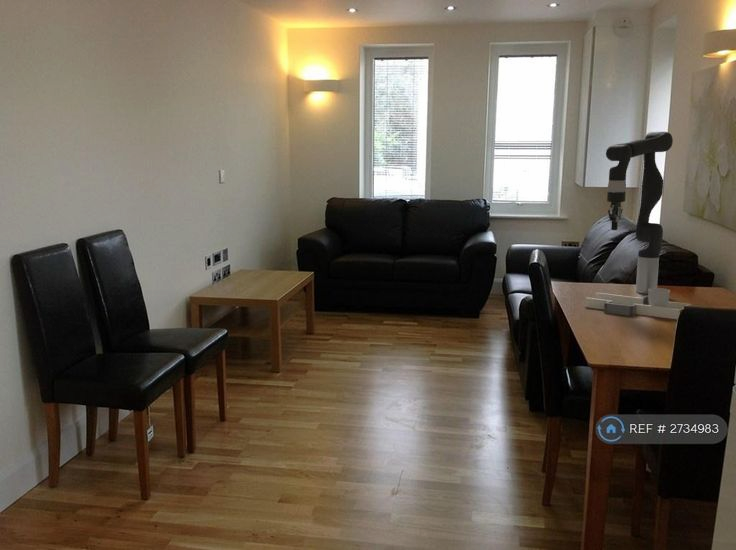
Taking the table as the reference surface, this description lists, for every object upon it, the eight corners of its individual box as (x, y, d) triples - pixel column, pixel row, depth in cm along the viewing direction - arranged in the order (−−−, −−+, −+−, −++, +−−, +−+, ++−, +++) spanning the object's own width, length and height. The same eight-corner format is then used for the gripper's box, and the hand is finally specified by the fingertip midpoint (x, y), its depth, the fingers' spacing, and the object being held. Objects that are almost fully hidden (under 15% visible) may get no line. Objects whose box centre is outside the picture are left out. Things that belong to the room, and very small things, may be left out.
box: (600, 299, 294) (601, 290, 294) (693, 310, 271) (693, 301, 270) (580, 309, 275) (581, 300, 275) (678, 322, 252) (679, 312, 251)
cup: (670, 313, 267) (672, 289, 265) (664, 317, 261) (666, 292, 259) (650, 310, 272) (651, 287, 270) (644, 314, 266) (645, 290, 264)
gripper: (612, 190, 291) (610, 228, 294) (603, 191, 281) (600, 230, 284) (630, 190, 287) (627, 229, 290) (620, 191, 276) (618, 232, 279)
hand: (614, 230), depth 287 cm, fingers closed
